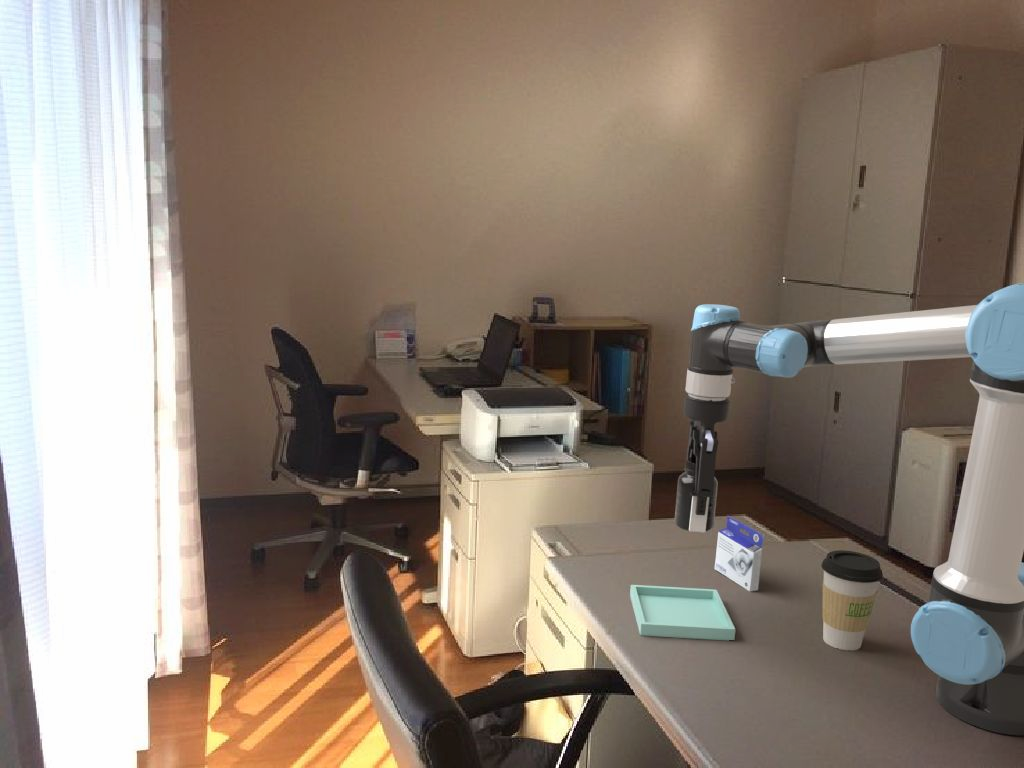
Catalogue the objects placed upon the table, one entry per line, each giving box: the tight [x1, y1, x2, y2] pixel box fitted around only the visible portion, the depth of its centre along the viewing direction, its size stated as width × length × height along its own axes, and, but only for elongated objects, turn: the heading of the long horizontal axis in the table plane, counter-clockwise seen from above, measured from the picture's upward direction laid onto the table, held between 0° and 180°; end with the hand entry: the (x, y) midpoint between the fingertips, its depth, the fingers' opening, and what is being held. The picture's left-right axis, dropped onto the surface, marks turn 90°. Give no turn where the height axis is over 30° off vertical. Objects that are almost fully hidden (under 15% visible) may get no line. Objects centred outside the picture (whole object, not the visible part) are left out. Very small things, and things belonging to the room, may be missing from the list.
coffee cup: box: [820, 549, 884, 651], centre depth 155 cm, size 10×10×15 cm
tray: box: [629, 584, 736, 641], centre depth 163 cm, size 16×16×2 cm
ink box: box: [713, 515, 766, 593], centre depth 179 cm, size 12×2×12 cm, turn 25°
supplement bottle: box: [674, 457, 719, 533], centre depth 159 cm, size 7×7×12 cm
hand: (693, 523), depth 160 cm, fingers closed on supplement bottle, 7 cm apart
